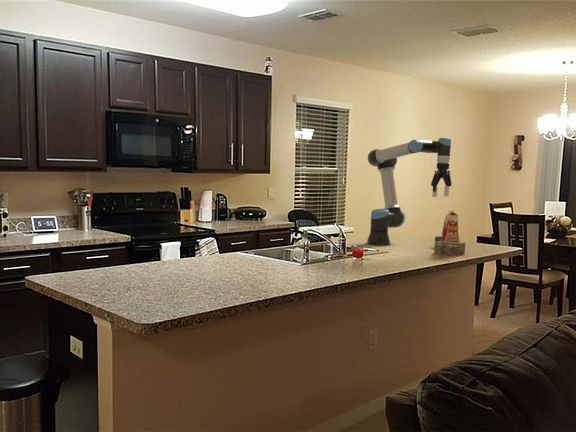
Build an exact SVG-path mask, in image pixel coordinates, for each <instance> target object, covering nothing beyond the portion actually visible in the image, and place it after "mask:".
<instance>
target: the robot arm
mask: <svg viewBox="0 0 576 432" xmlns="http://www.w3.org/2000/svg"><path fill="white" fill-rule="evenodd" d="M451 148H452V139H451V138H450V137H439V138H438V140H425V139H412V140H410V141H409V142H405V143H402V144H398V145H394V146H390V147H386V148H377V149H372V150H371V151H370V152H369V153H368V155H367V161H368V163H369V164H370V165H371V166H372V167H377V170H378V172H379V173H380V177H381V185H382V193H383V200H384V207H383V208H377V209H373V210H371V213H370V232H369V236H368V238H367V241H366V244H367V245H373V246H389V245H391V240H390V236H389V229H391V228H394V229H395V228H399V227H401V226H402V225H403V224H404V223H405V220H406V213H405V212H404V211H403V210H402V209H401V206H400V205H399V204H398V197H397V189H396V183H395V175H394V170H395V169H396V167H395V166H396V165H397V163H398V158H400V157H405V156H409V155H412V154H417V153H425V154H437V155H436V156H437V157H436V162H437V163H436V170H434V174H433V176H432V180H431V182H430V185H431V187H432V195H431V197H432V198H437V197H438V187H439V186H438V185H439V182H440V180H441V179H443V182H444V185H445V186H444V191H443V193H444V194H443V197H448V198H449V195H450V194H449V193H450V187H452V184H453V183H452V178H451V171H450V170H449V169H450V159H451V158H450V156H451Z"/></svg>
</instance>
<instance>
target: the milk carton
mask: <svg viewBox="0 0 576 432" xmlns="http://www.w3.org/2000/svg"><path fill="white" fill-rule="evenodd" d="M454 211H455V210H450V211H448V214H446V215H445V217H444V221H443V227H442V233H441V237H442V239H441V241H442V242H444V243H455V244H460V242H461V241H460V234H459V231H460V230H459V215H458V214H457V213H456V212H454Z"/></svg>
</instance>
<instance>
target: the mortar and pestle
mask: <svg viewBox="0 0 576 432" xmlns="http://www.w3.org/2000/svg"><path fill="white" fill-rule="evenodd" d="M441 239H442V235H440V236H434V243H435V242H438V241H441Z"/></svg>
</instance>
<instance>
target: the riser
mask: <svg viewBox="0 0 576 432" xmlns="http://www.w3.org/2000/svg"><path fill="white" fill-rule="evenodd" d="M466 245H467V243H466V242H461V241H460V244H455V243H444V242H442V241H438V242H435V241H434V253H433V254H437V253H438V254H437V255H443V254H444V256H448V257H449V256H450V257H455V256H457V255H458V256H463V255H465V254H466V253H465V252H466V251H465V250H466Z"/></svg>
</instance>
